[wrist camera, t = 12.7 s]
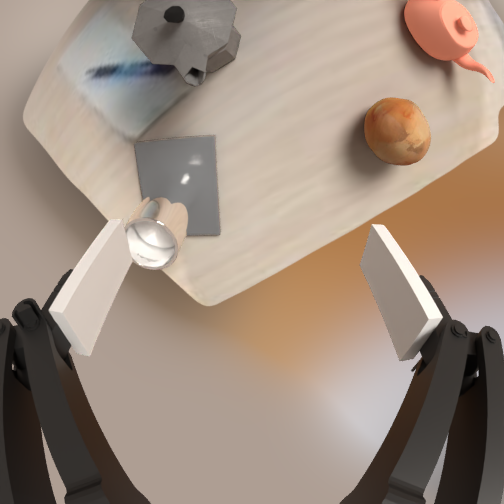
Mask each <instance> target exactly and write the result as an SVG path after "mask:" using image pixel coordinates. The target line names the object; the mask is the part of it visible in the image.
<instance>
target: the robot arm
mask: <svg viewBox="0 0 504 504" xmlns="http://www.w3.org/2000/svg"><path fill="white" fill-rule="evenodd" d="M132 261H133V260H132V256H131V252H130V248H129V245H128V241H127V236H126V232H125V228H124V224H123V219H110V220H109V222H108V223H107V224H106V226H105V227H104V228H103V229H102V231H101V232H100V233H99V235H98V236H97V237H96V239H95V240H94V241H93V243H92V244H91V246H90V247H89V248H88V250H87V251H86V253H85V254H84V255H83V257H82V258H81V260H80V261H79V263H78V264H77V266H76V267H75V269H74V270H72V269H70V270H69V271H68V272H67V273H66V274H64V275H63V276H62V278H61V279H60V281H59V282H58V285H57V286H56V287H55V289H54V292H52V293H51V295H50V297H49V298H48V300H47V302H46V303H45V305H44V307H43V308H42V310H40V308H39V306H38V305H37V303H36V301H35V300H33V299H31V298H28V299H24V300H22V301H21V302H20V303H18V304H17V306H15V308H14V310H13V312H12V317H13V318H14V320H15V321H16V323H17V324H18V325H17V326H13V325H12V324H11V323H10V321H9V320H8V319H6V318H2V319H0V504H56V501H55V497H54V494H53V490H52V486H51V482H50V478H49V473H48V469H47V464H46V459H45V453H44V447H43V440H42V432H41V427H42V430H43V433H44V436H45V439H46V442H47V445H48V448H49V450H50V453H51V455H52V458H53V460H54V462H55V465H56V467H57V470H58V472H59V474H60V476H61V478H62V480H63V483H64V485H65V487H66V490H67V493H66V495H65V497H64V499H65V504H151V503H150V502H149V501H148V499H147V498H146V497H145V496H144V495H143V494H141V493H140V492H139V491H138V490H137V489H136V488H135V487H134V485H133V484H132V482H131V481H130V479H129V478H128V476H127V474H126V473H125V471H124V470H123V468H122V466H121V465H120V463H119V461H118V460H117V458H116V456H115V455H114V453H113V451H112V449H111V448H110V446H109V444H108V442H107V440H106V438H105V436H104V434H103V432H102V430H101V428H100V426H99V424H98V422H97V420H96V418H95V416H94V413H93V412H92V409H91V407H90V404H89V402H88V400H87V397H86V395H85V393H84V390H83V387H82V385H81V382H80V380H79V377H78V374H77V371H76V369H75V366H74V363H73V360H72V357H71V355H70V353H69V352H68V351H69V349H70V347H71V346H72V347H73V349H74V350H75V352H76V353H78V354H82V355H87V356H91V353H92V351H93V348H94V345H95V343H96V340H97V338H98V335H99V333H100V331H101V328H102V326H103V323H104V321H105V319H106V316H107V314H108V312H109V309H110V307H111V305H112V303H113V301H114V299H115V296H116V294H117V292H118V290H119V288H120V286H121V284H122V281H123V280H124V277H125V275H126V273H127V271H128V269H129V267H130V265H131V263H132ZM360 267H361V269H362V271H363V274H364V276H365V278H366V280H367V282H368V284H369V286H370V289H371V291H372V293H373V296H374V298H375V300H376V303H377V305H378V307H379V309H380V312H381V314H382V317H383V319H384V321H385V324H386V326H387V329H388V331H389V334H390V337H391V339H392V342H393V345H394V347H395V350H396V352H397V355H398V358H399V361H404V360H409V359H413V358H414V357H415V356H416V355H417V353H418V352H419V351H420V353H421V355H422V358H421V359H420V360H419V362H418V363H417V364H416V365H415V366H414V367H413V369H412V370H411V371H414V370H415V369H416V371H415V373H414V376H413V379H412V381H411V384H410V386H409V389H408V391H407V394H406V396H405V398H404V401H403V403H402V405H401V407H400V410H399V412H398V414H397V416H396V418H395V420H394V422H393V424H392V426H391V428H390V430H389V432H388V434H387V436H386V438H385V440H384V442H383V443H382V445H381V447H380V449H379V451H378V452H377V454H376V456H375V458H374V459H373V461H372V463H371V464H370V466H369V468H368V469H367V471H366V472H365V474H364V475H363V477H362V479H361V480H360V482H359V483H358V485H357V486H356V487H355V489H354V490H353V491H352V492H351V493H350V494H349V495H348V496H346V497H345V498H344V499H343V500H342V501H341V502H340V504H425V502H426V500H425V499H424V497H423V493H424V490H425V488H426V486H427V484H428V482H429V480H430V477H431V475H432V473H433V471H434V468H435V466H436V464H437V461H438V459H439V456H440V454H441V451H442V449H443V446H444V443H445V441H446V438H447V435H448V442H447V448H446V454H445V460H444V465H443V470H442V475H441V480H440V484H439V488H438V492H437V496H436V499H435V503H434V504H500V503H501V499H502V493H503V488H504V355H503V349H502V344H501V339H500V337H499V334H498V333H497V331H495V329H493V328H492V327H490V326H485V327H483V328H482V329H481V331H480V332H479V333H473V332H468V329H467V328H466V327H465V325H464V324H462V323H461V322H459V321H457V320H452V319H451V317H450V315H449V313H448V312H447V310H446V308H445V306H444V305H443V303H442V301H441V300H440V298H439V296H438V295H437V293H436V292H435V290H434V288H433V286H432V285H431V283H430V282H429V281H428V280H427V279H426V278H425V277H424V276H422V275H420V276H418V274H417V272H416V271H415V269H414V268H413V266H412V265H411V263H410V262H409V261H408V259H407V257H406V256H405V254H404V253H403V251H402V250H401V248H400V247H399V245H398V244H397V243H396V241H395V240H394V239H393V237H392V236H391V234H390V233H389V231H388V230H387V229H386V227H385V226H384V225H374V224H372V225H371V229H370V233H369V236H368V240H367V243H366V246H365V250H364V253H363V256H362V259H361V263H360ZM12 364H13V365H14V370H12ZM478 370H479V376H478V377H477V373H476V372H477V371H478ZM448 432H449V433H448Z"/></svg>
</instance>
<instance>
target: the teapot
mask: <svg viewBox="0 0 504 504" xmlns="http://www.w3.org/2000/svg"><path fill="white" fill-rule="evenodd" d="M404 16H405V21H406V24H407V27H408V29H409V31H410V33H411V34H412V36H413V38H414V39H415V40H416V42H417V43H418V44H419V46H420V47H421V48H422V49H423V50H424V51H425V52H426V53H427V54H429V55H430V56H432V57H434V58H436V59H439V60H453V61H455V62H456V63H457V64H458V65H459V66H461V67H463V68H465V69H468V70H472V71H477V72H480V73H482V74H484V75H485V76H486V77H487V78H488V79H489V80H490V81H491V82H492V83H494V78H493V76H492V74H491V73H490V71H489V70H488V69H487V68H486V67H484V66H483V65H481V64H480V63H477V62H476V61H474V60H473V59H472V58H471V57H470V56H469V55H468V54H467V53H469V52H470V50H471V49H472V48H473V47H474V46H475V44H476V42H477V40H478V30H477V27H476V24H475V22H474V20H473V18H472V17H471V15H470V13H469V12H468V11H467V10H466V8H465V7H464V6H462V5H461V4H460V3H458V2H456V1H454V0H409V1H408V2H407V4H406V6H405V10H404Z"/></svg>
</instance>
